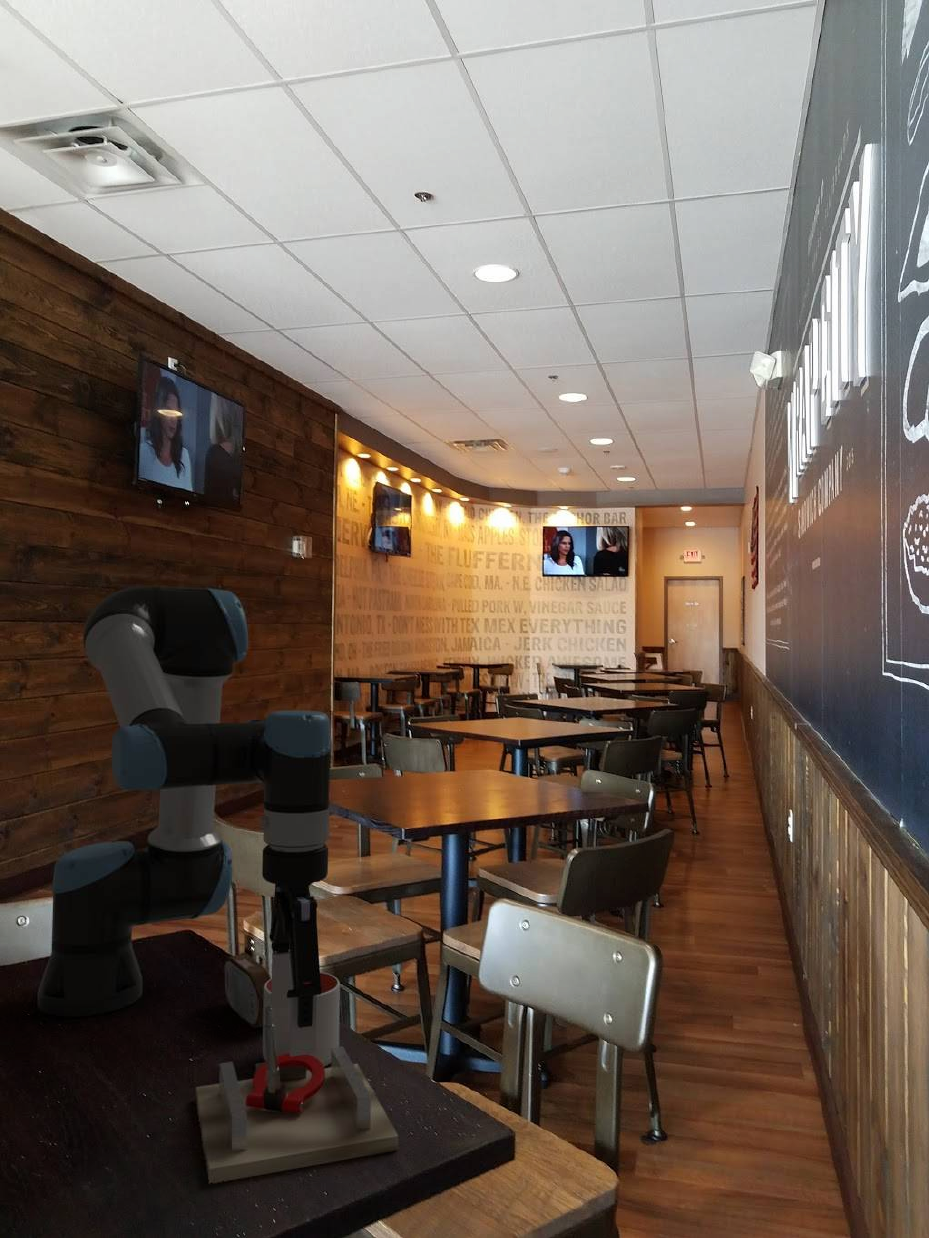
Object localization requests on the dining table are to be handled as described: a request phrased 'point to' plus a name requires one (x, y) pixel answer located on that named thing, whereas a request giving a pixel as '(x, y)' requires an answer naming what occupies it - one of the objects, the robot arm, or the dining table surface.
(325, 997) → the cup
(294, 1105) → the tow hook
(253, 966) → the tin
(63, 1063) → the dining table surface
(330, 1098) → the keeper board
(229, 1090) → the keeper rails
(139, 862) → the robot arm
